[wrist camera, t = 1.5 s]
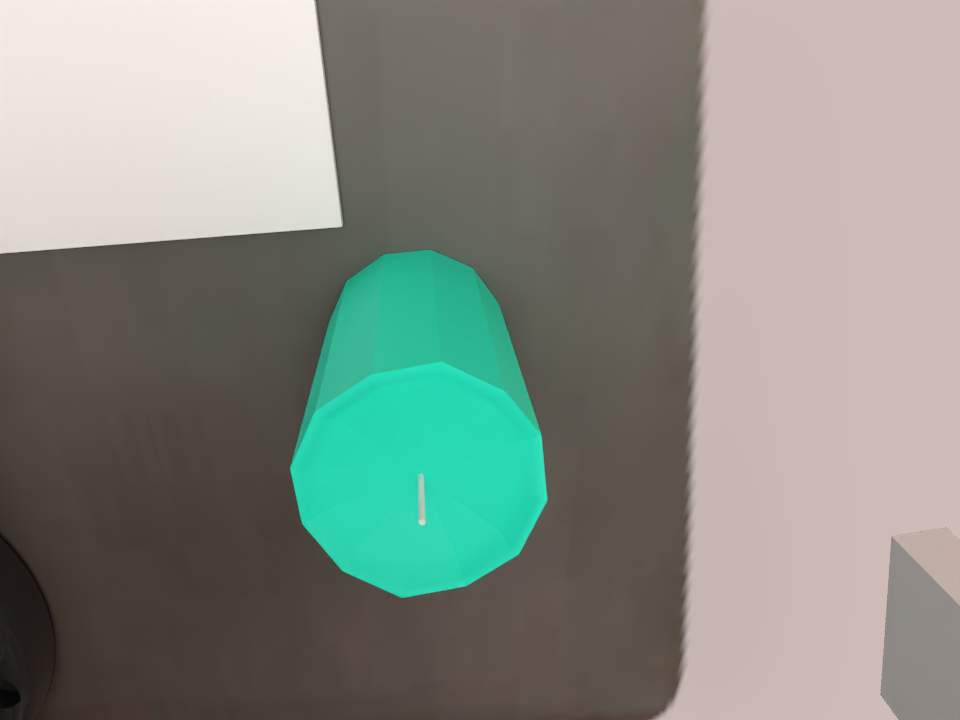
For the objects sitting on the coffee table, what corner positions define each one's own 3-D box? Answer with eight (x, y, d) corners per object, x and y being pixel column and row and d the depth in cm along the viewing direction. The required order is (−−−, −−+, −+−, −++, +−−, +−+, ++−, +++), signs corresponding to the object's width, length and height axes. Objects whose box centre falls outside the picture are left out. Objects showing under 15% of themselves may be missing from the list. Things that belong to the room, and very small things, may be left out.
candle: (486, 422, 31) (531, 647, 20) (319, 401, 30) (266, 623, 19) (518, 263, 29) (588, 414, 18) (339, 235, 28) (293, 374, 17)
